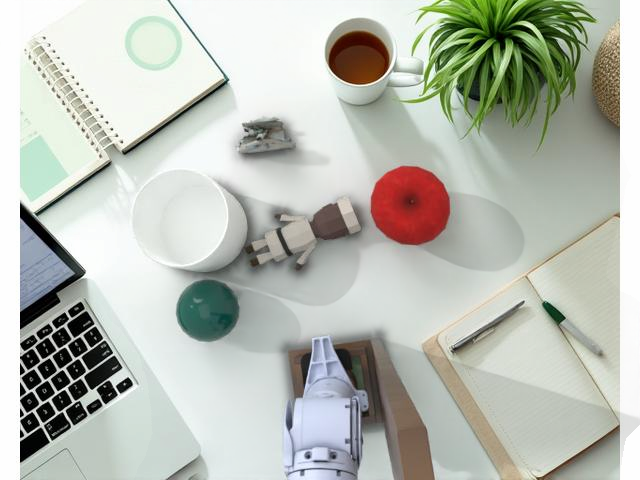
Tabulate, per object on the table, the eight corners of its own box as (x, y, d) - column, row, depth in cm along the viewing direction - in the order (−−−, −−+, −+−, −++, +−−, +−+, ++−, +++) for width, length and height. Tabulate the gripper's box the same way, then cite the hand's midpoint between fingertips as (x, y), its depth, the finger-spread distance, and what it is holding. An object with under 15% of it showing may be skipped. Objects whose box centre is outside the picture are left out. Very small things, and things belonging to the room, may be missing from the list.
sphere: (188, 342, 82) (169, 347, 74) (183, 282, 83) (165, 281, 75) (247, 337, 82) (235, 341, 74) (242, 277, 83) (230, 274, 75)
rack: (391, 420, 80) (472, 712, 23) (299, 432, 80) (162, 747, 24) (379, 337, 81) (426, 427, 24) (288, 350, 81) (131, 467, 25)
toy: (263, 285, 83) (367, 243, 82) (256, 285, 78) (365, 240, 77) (241, 229, 84) (343, 187, 83) (233, 226, 79) (341, 181, 78)
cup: (180, 174, 84) (151, 154, 72) (259, 202, 83) (243, 185, 71) (150, 255, 84) (115, 248, 72) (230, 284, 83) (208, 281, 71)
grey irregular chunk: (297, 150, 84) (292, 136, 77) (239, 157, 84) (228, 145, 77) (294, 119, 84) (288, 103, 77) (236, 127, 85) (225, 112, 78)
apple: (454, 234, 81) (468, 224, 71) (386, 261, 82) (390, 255, 71) (425, 165, 82) (435, 145, 72) (358, 192, 83) (358, 176, 72)
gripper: (380, 482, 60) (376, 448, 74) (357, 333, 62) (357, 327, 75) (308, 492, 60) (317, 456, 74) (288, 343, 62) (300, 335, 75)
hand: (334, 392), depth 75 cm, fingers closed on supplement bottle, 6 cm apart
